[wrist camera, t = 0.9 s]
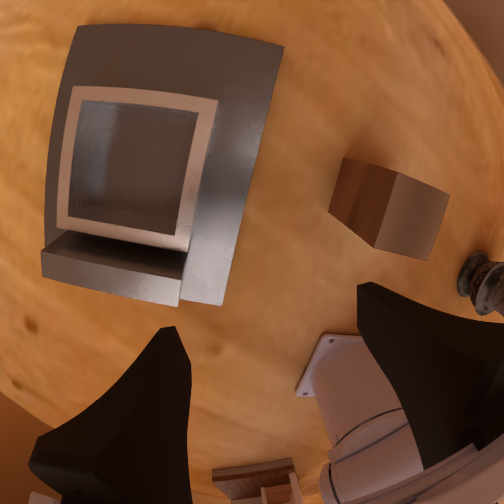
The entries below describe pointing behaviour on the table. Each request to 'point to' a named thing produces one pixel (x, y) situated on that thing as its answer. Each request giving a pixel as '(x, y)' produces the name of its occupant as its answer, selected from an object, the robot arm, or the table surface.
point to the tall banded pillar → (260, 483)
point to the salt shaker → (482, 283)
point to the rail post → (388, 208)
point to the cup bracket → (154, 159)
